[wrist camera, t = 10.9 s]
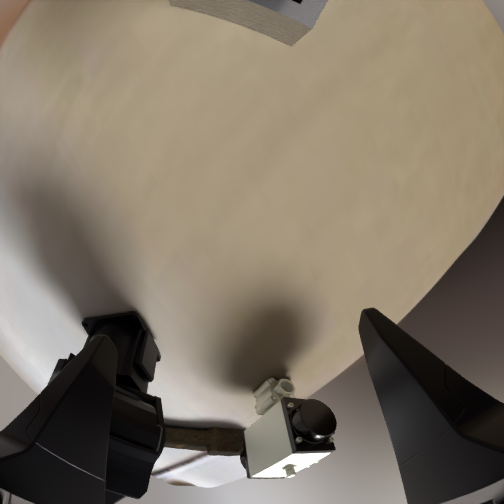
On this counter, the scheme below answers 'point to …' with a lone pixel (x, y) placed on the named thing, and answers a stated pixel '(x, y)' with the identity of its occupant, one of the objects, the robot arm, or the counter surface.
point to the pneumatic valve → (286, 432)
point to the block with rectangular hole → (263, 15)
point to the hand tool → (206, 440)
